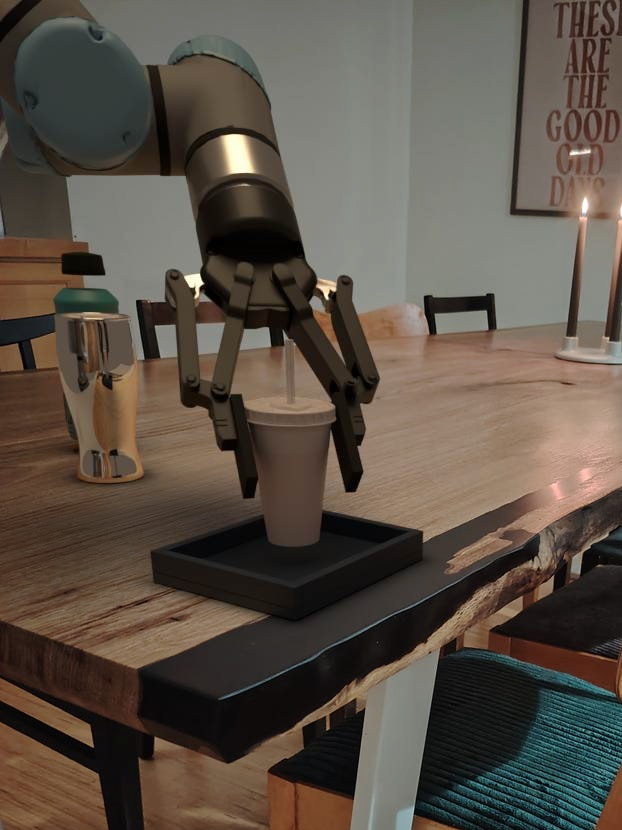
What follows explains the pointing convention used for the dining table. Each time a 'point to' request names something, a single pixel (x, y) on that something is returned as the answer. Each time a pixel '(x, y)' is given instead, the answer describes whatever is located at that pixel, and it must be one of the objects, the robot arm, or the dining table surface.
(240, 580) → the tray
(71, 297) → the beverage bottle
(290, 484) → the smoothie
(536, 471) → the dining table surface
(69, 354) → the beer glass
